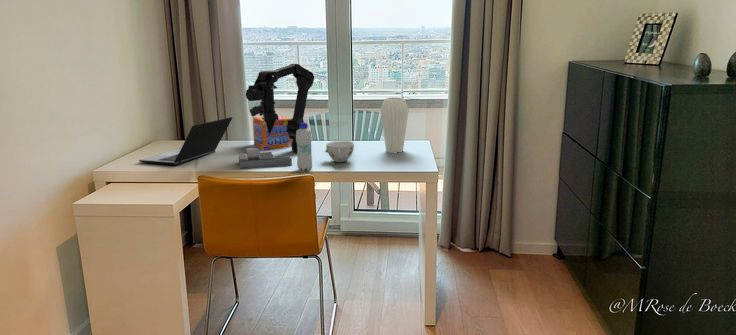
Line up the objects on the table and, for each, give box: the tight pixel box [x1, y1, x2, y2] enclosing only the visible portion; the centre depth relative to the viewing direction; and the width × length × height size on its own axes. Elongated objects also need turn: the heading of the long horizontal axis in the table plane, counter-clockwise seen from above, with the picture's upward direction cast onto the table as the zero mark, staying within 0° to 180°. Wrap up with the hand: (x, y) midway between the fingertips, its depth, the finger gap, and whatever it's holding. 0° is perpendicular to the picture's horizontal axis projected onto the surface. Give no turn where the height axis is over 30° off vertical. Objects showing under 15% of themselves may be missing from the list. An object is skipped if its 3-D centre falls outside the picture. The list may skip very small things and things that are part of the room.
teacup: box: [325, 141, 355, 163], centre depth 241 cm, size 15×12×8 cm
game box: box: [252, 114, 292, 151], centre depth 276 cm, size 16×16×16 cm
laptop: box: [138, 116, 233, 166], centre depth 251 cm, size 30×32×18 cm
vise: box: [237, 153, 293, 169], centre depth 238 cm, size 23×14×4 cm, turn 106°
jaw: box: [259, 151, 275, 160], centre depth 239 cm, size 6×11×4 cm, turn 16°
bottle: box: [296, 122, 313, 172], centre depth 224 cm, size 7×7×20 cm
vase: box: [380, 96, 409, 154], centre depth 259 cm, size 13×13×26 cm
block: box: [246, 147, 260, 161], centre depth 237 cm, size 5×4×7 cm
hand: (269, 133), depth 247 cm, fingers closed
